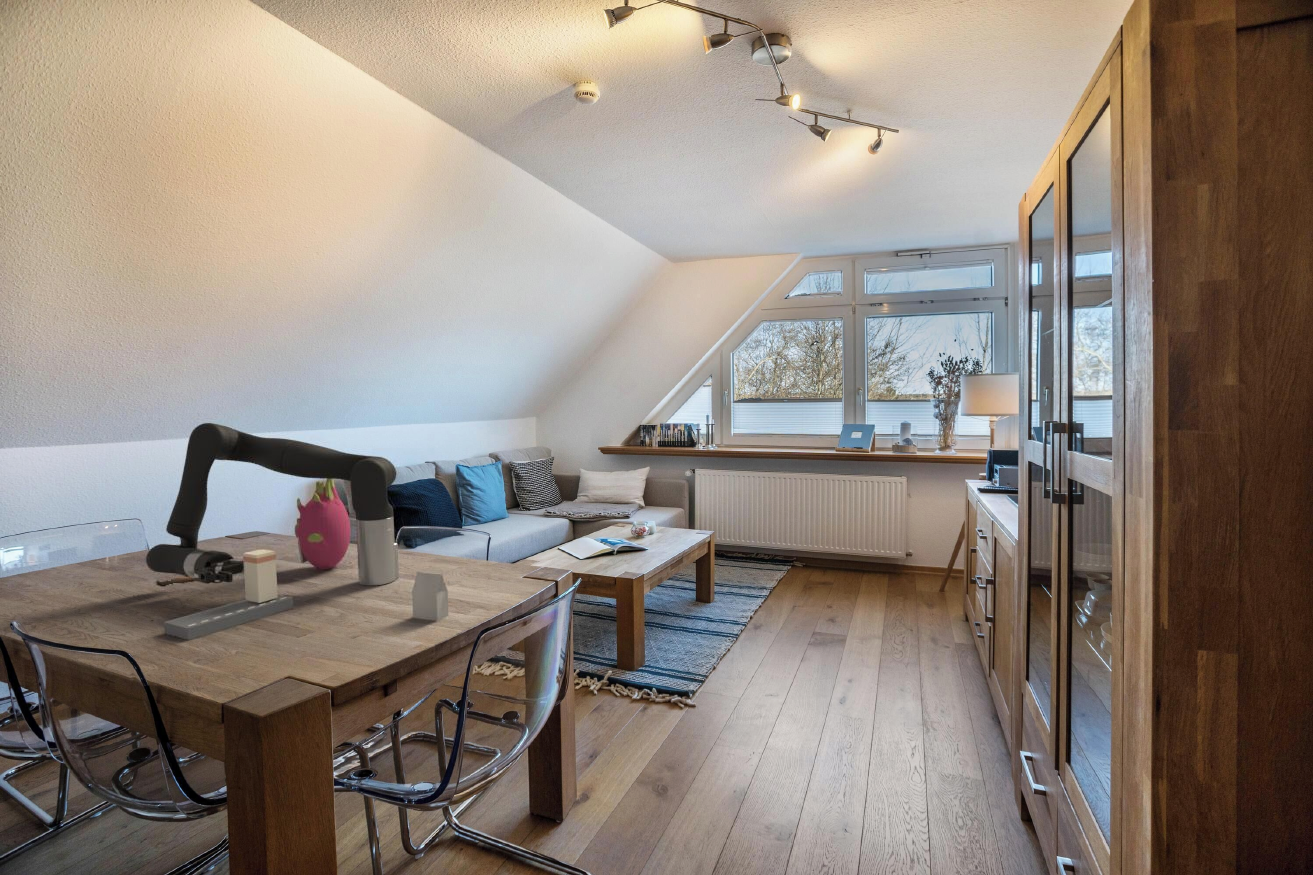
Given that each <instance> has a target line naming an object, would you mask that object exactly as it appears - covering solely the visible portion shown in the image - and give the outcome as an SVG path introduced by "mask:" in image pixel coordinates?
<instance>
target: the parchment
mask: <svg viewBox="0 0 1313 875" xmlns="http://www.w3.org/2000/svg"><path fill="white" fill-rule="evenodd" d="M243 570H244V568H243ZM168 580H169V579H167V580H165V581H159V580H156V581H157V585H161V586H163V587H167V586H170V585H169V584H171V585H174V584H173V583H182V584H185V583H192V582H196V581H195V579H194V578H192V577H184V578H182V577H177V578H172V579H170V580H171V581H168ZM166 585H167V586H166Z"/></svg>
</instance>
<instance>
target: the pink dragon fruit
mask: <svg viewBox="0 0 1313 875" xmlns="http://www.w3.org/2000/svg"><path fill="white" fill-rule="evenodd" d="M334 480H335V479H326V481H319V480H318V481H316V483H315V491H314V492H313V496H312V497H311V499H310V500H309V501H307V503H306V504H305V505H303V504H302V501H301V499H300V498H297V499H296V508H297V510H298V512H299V518H298V517H296V523H295V525H294V535H295V538H298V539H297V546H298V552H299V558H300V564H304V563H306V562H308V563H309V564H310V565H311V566H313V567H314V568H316V569H320V570H328V569H332V568H334V567H336V566H338V564H339V563H340V562H341V561H342V560H343V559H344V557H345V555H346V554H347V551H348V548H349V546H350V542H351V532H352V531H351V522H350V517H349V514H348V512H347V509H346V507H345V505H344V503H343V502H342V500H341V499H340V497H339V494H338V492H337V490H336V486H335V483H334V482H335V481H334Z"/></svg>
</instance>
